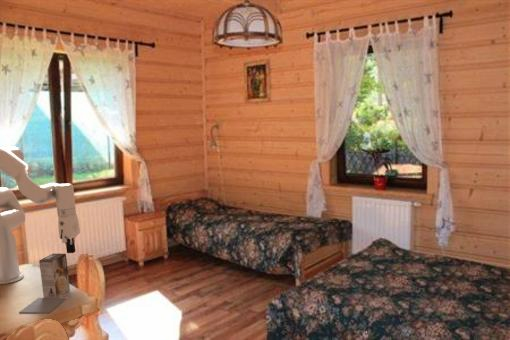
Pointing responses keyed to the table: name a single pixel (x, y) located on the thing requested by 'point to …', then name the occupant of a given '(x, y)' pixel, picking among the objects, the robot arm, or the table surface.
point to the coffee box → (54, 275)
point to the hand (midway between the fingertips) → (71, 252)
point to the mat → (43, 305)
